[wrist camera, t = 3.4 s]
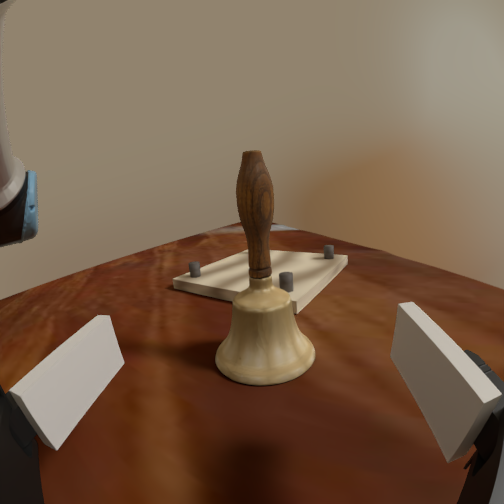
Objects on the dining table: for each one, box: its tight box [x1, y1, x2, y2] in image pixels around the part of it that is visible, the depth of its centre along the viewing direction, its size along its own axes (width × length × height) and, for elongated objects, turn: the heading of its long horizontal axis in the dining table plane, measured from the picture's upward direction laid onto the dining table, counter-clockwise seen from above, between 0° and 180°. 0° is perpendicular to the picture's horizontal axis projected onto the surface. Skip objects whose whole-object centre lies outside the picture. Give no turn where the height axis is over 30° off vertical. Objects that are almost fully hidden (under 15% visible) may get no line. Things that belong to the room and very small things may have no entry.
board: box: [173, 245, 347, 314], centre depth 42 cm, size 20×20×4 cm
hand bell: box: [215, 150, 315, 386], centre depth 20 cm, size 8×8×16 cm
